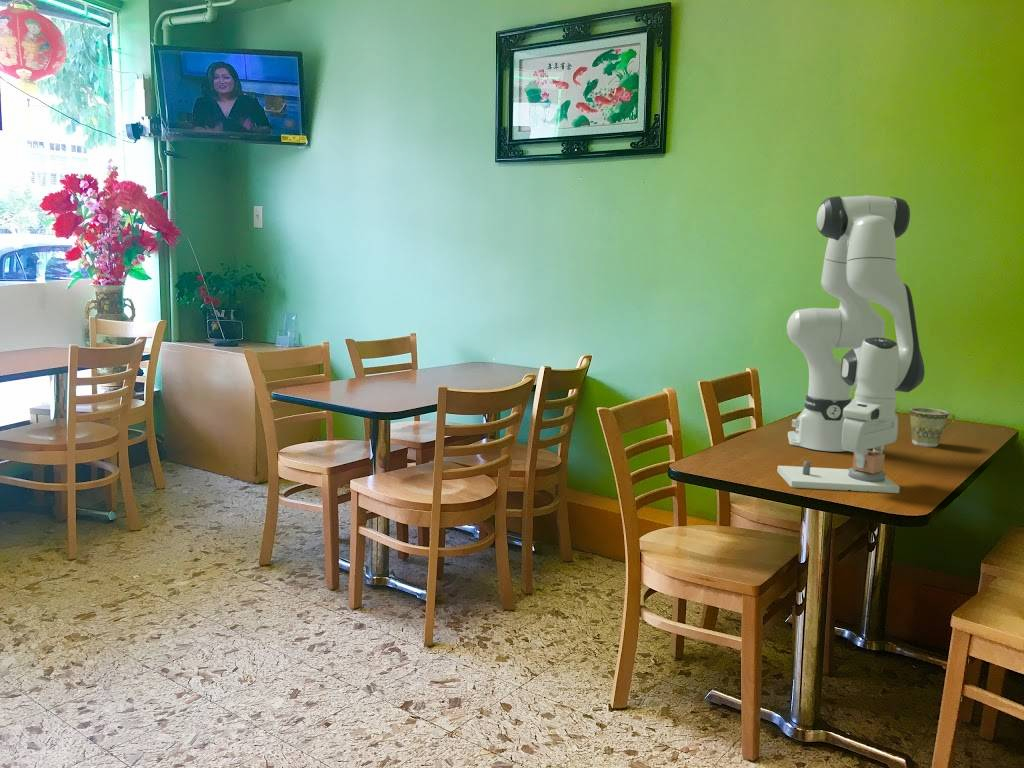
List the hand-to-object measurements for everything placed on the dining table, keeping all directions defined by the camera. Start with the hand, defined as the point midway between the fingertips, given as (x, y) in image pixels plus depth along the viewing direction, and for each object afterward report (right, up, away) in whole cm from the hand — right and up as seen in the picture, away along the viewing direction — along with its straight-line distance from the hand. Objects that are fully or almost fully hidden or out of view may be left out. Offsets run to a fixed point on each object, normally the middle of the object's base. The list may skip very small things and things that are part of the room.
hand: (867, 465), depth 192 cm
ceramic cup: (+38, +1, +45) cm, 59 cm away
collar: (0, -1, 0) cm, 1 cm away
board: (-7, -4, +1) cm, 8 cm away
